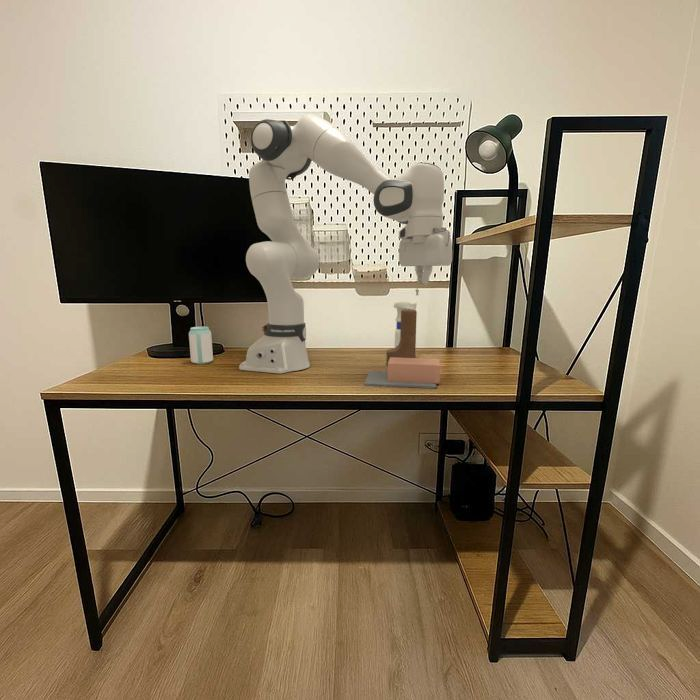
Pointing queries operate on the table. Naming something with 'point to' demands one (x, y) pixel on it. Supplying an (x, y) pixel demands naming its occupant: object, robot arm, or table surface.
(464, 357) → the table surface
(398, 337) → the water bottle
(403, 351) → the wooden block
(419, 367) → the terracotta block
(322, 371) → the table surface
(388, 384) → the mat
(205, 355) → the can
